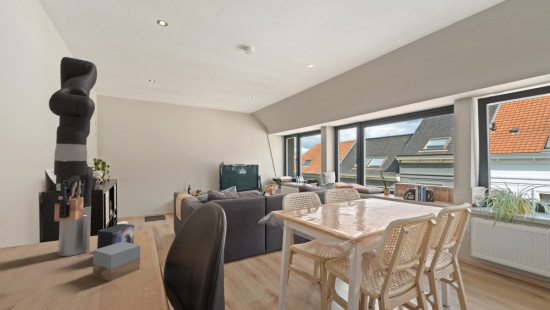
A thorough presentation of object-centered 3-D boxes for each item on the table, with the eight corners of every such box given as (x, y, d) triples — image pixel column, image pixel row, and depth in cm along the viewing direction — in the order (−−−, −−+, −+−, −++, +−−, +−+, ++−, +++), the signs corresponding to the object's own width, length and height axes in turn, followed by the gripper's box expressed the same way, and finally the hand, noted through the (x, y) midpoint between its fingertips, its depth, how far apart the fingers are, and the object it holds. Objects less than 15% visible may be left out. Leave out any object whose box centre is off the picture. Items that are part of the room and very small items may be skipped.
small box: (110, 262, 82) (111, 231, 82) (95, 260, 83) (96, 230, 84) (134, 251, 92) (135, 224, 93) (120, 249, 94) (121, 223, 94)
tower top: (92, 263, 72) (93, 250, 72) (122, 253, 80) (122, 241, 81) (110, 268, 68) (111, 255, 69) (139, 257, 77) (140, 245, 77)
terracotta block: (63, 217, 73) (63, 197, 73) (82, 216, 74) (83, 197, 74) (54, 221, 68) (55, 200, 68) (75, 220, 69) (76, 199, 70)
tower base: (92, 276, 72) (93, 263, 72) (122, 265, 80) (122, 253, 80) (110, 282, 68) (111, 268, 69) (139, 270, 77) (140, 257, 77)
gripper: (67, 159, 77) (65, 211, 77) (41, 159, 63) (38, 222, 63) (95, 159, 79) (93, 210, 79) (75, 159, 66) (72, 220, 65)
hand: (69, 215), depth 71 cm, fingers closed on terracotta block, 5 cm apart
